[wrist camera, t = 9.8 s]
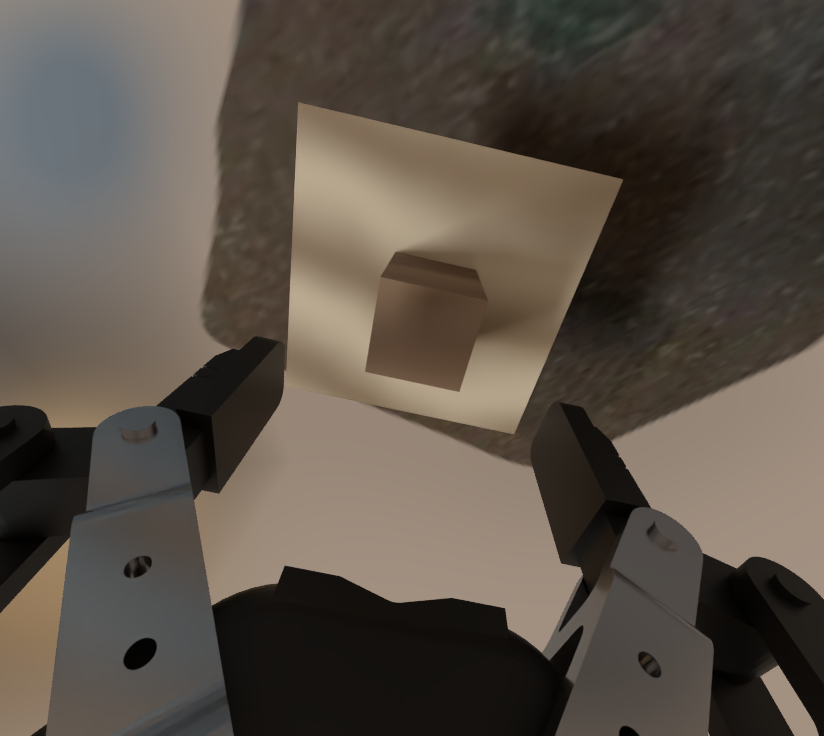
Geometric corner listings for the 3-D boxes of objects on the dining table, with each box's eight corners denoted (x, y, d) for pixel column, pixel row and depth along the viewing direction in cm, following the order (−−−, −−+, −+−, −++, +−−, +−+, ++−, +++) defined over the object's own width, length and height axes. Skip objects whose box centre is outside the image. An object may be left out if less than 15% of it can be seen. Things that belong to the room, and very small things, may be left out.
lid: (304, 105, 16) (238, 70, 10) (615, 179, 16) (697, 180, 11) (290, 379, 22) (246, 440, 17) (511, 426, 23) (532, 498, 18)
